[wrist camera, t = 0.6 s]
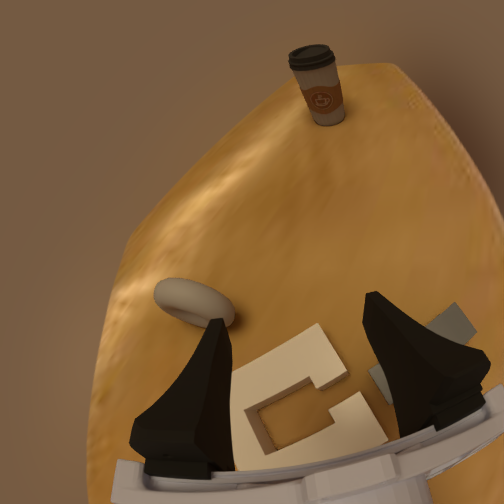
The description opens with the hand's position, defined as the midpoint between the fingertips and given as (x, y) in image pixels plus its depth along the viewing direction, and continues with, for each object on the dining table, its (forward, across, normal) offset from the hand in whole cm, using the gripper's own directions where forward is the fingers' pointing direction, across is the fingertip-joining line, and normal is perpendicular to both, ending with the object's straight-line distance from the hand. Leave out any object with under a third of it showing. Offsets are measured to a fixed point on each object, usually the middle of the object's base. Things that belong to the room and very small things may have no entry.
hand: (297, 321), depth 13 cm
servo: (+4, -13, +14) cm, 20 cm away
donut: (+17, +9, +15) cm, 24 cm away
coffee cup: (+45, -16, -6) cm, 48 cm away
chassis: (+4, 0, +18) cm, 19 cm away
